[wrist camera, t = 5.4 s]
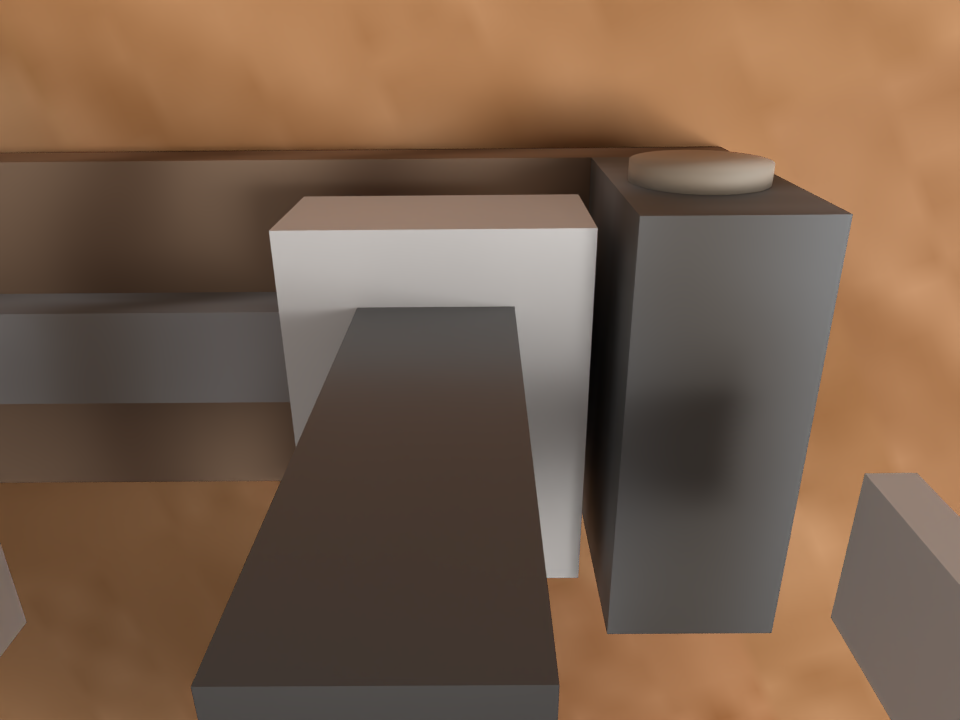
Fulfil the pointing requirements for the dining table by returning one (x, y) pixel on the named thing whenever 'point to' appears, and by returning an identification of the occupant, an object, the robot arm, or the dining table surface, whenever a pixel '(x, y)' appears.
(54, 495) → the dining table surface
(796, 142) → the dining table surface
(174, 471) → the rail base
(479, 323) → the carriage
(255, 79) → the dining table surface
